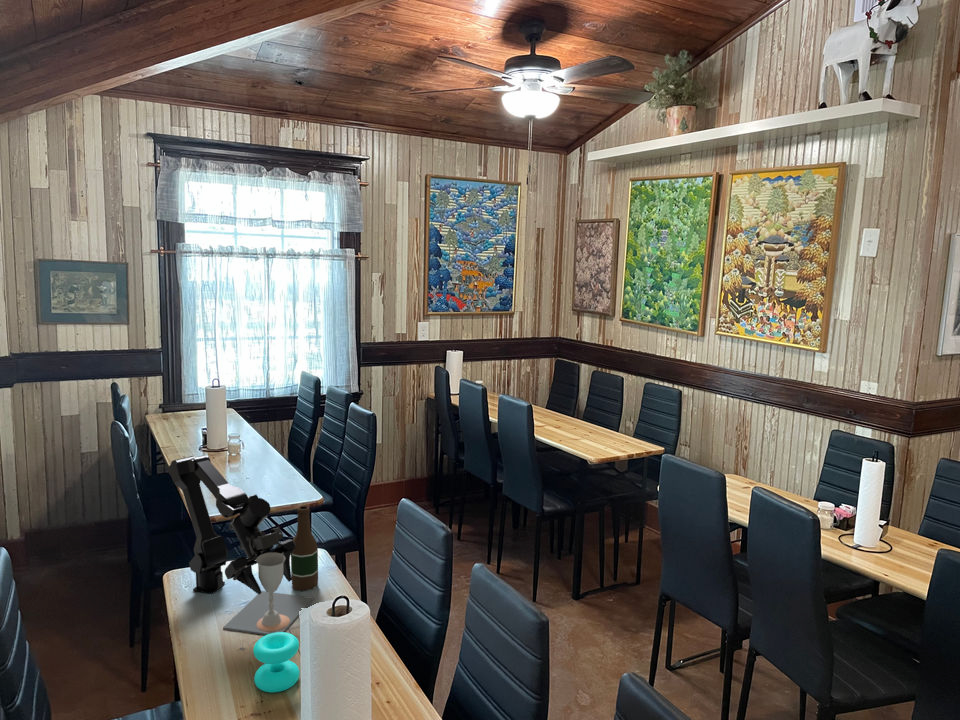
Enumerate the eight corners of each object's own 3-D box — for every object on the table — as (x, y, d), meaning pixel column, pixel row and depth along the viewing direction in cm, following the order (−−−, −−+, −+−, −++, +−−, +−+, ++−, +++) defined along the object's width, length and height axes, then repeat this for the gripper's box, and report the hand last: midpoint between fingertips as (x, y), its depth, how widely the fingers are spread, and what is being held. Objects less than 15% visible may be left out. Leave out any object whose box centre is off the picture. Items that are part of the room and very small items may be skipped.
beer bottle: (323, 585, 208) (322, 507, 204) (300, 594, 202) (299, 514, 198) (308, 576, 213) (307, 500, 209) (285, 585, 207) (284, 507, 203)
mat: (223, 629, 183) (223, 626, 183) (261, 592, 203) (261, 590, 203) (280, 637, 180) (280, 635, 180) (313, 599, 200) (313, 597, 200)
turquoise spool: (302, 648, 158) (255, 657, 154) (303, 689, 160) (257, 699, 156) (294, 626, 167) (250, 634, 163) (295, 664, 169) (252, 674, 165)
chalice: (288, 613, 190) (288, 553, 185) (281, 629, 183) (281, 566, 179) (261, 612, 190) (260, 551, 185) (253, 627, 183) (252, 565, 179)
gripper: (229, 531, 177) (256, 586, 172) (291, 510, 191) (318, 561, 186) (213, 552, 183) (239, 606, 178) (274, 530, 197) (299, 579, 192)
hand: (275, 587), depth 183 cm, fingers open, 9 cm apart
